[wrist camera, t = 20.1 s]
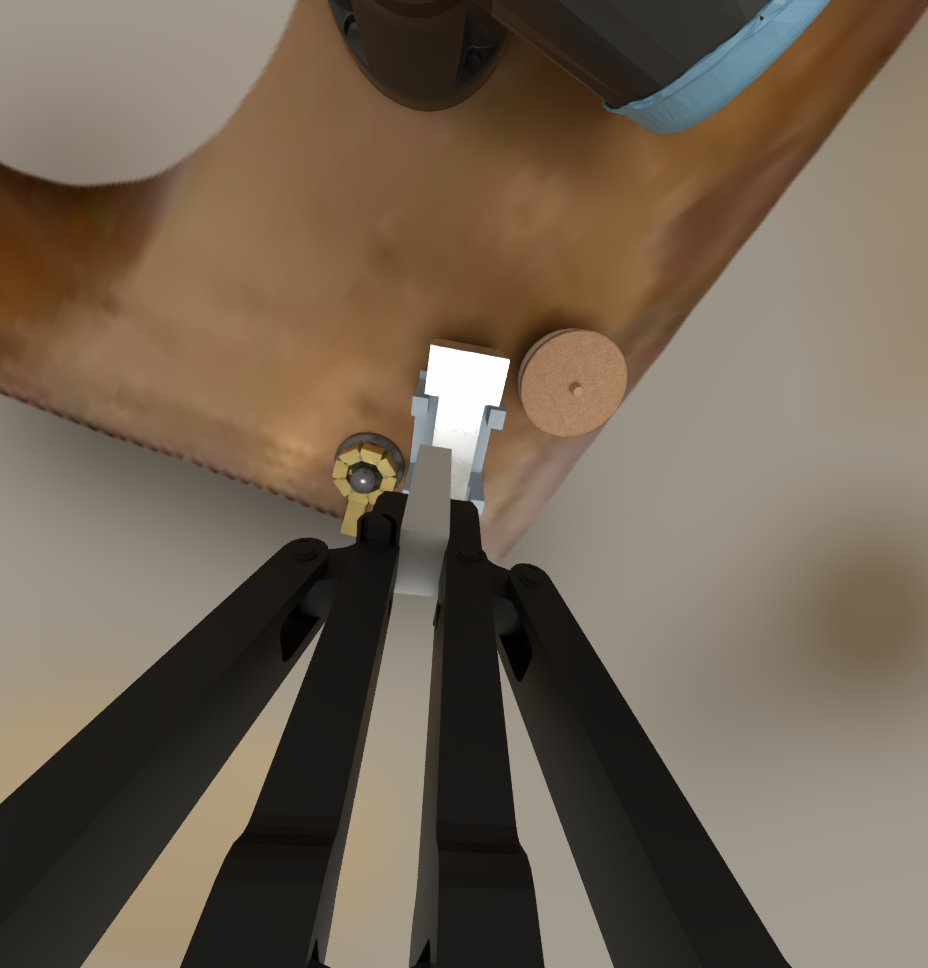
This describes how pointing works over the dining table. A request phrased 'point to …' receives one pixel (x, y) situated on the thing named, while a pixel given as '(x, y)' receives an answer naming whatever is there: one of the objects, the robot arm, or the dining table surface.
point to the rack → (424, 433)
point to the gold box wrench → (344, 473)
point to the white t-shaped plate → (463, 399)
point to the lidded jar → (572, 381)
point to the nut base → (368, 472)
